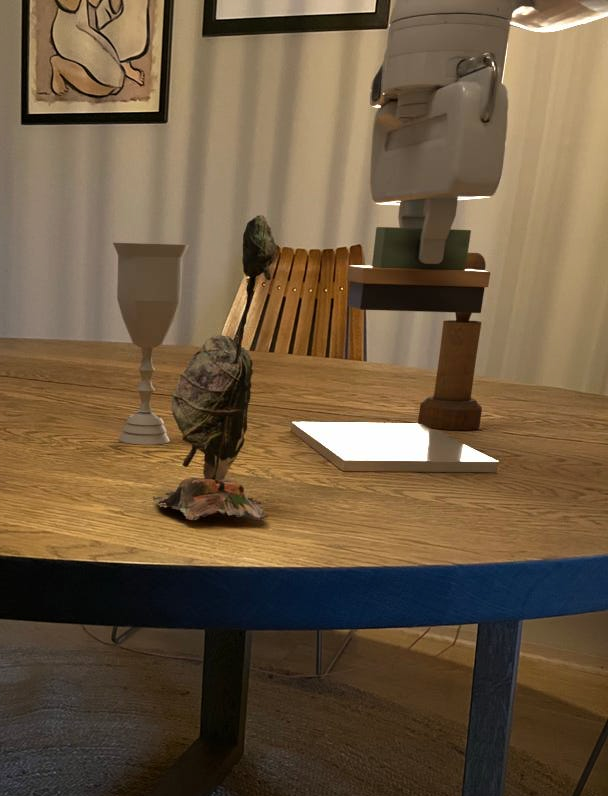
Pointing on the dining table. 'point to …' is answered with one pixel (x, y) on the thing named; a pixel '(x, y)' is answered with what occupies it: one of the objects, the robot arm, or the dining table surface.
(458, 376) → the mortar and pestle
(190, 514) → the plant with pod
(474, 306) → the brush
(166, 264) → the chalice
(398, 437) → the tile
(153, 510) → the dining table surface
